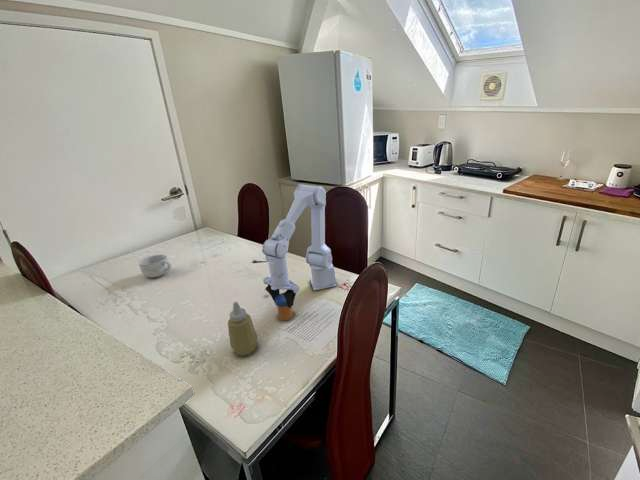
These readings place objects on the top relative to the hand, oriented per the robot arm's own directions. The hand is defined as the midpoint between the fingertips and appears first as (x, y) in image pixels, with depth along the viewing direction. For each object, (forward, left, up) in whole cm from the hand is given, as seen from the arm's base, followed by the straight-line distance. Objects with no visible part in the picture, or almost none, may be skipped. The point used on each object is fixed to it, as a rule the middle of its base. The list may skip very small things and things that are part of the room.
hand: (284, 304), depth 113 cm
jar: (0, 0, -5) cm, 5 cm away
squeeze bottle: (+14, +12, -6) cm, 19 cm away
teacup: (+50, -53, -6) cm, 73 cm away
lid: (0, 0, +2) cm, 2 cm away
